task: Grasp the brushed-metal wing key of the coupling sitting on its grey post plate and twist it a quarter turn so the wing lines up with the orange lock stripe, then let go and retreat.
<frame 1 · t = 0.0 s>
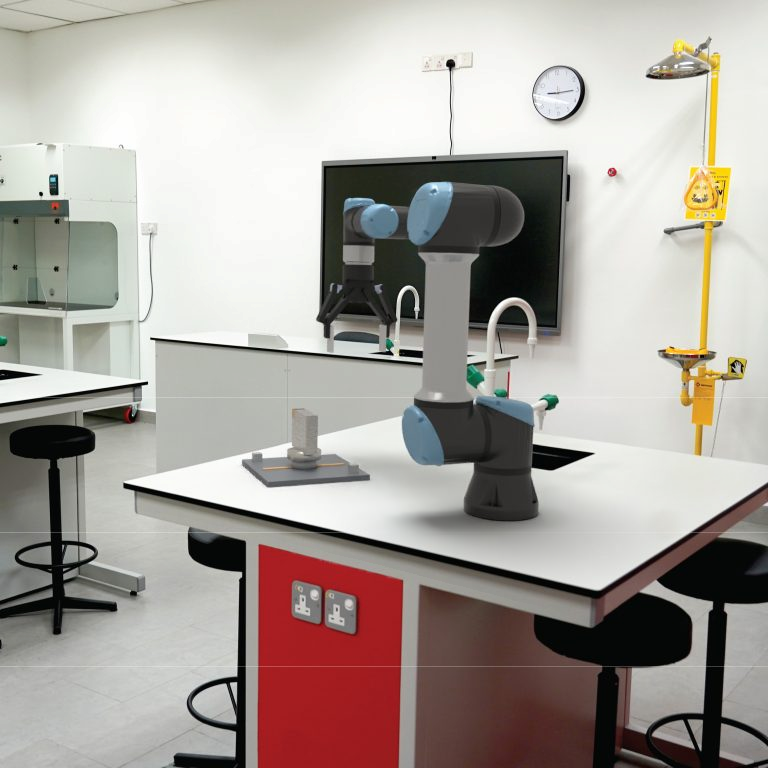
hand: (356, 351, 221), 28 cm above the table, fingers open, 13 cm apart
post plate: (304, 471, 214), on the table
coupling: (304, 435, 213), point 9 cm above the table, hinge at 0.0°
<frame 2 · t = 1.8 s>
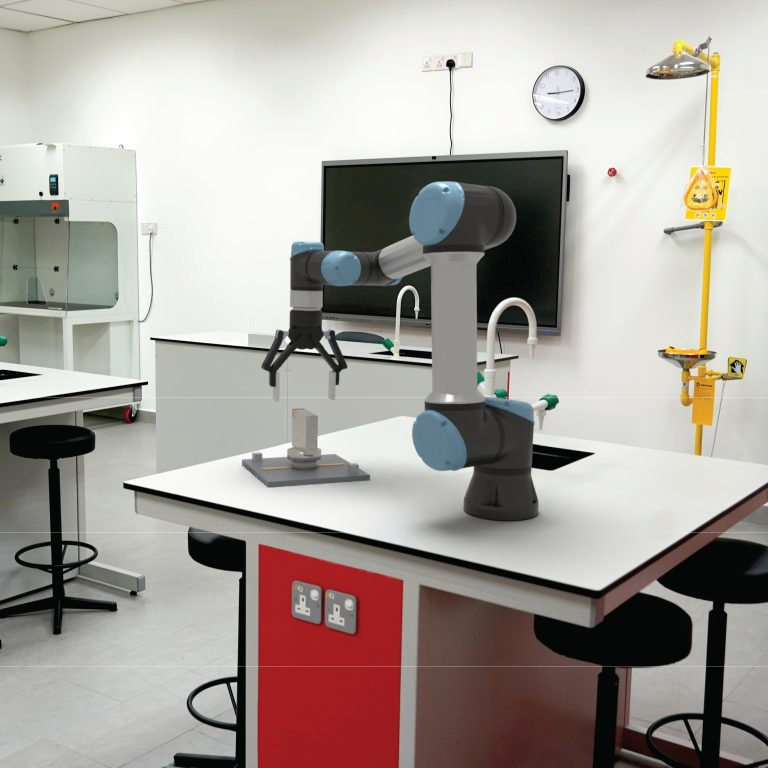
hand: (304, 400, 212), 17 cm above the table, fingers open, 13 cm apart
nothing on the table moved.
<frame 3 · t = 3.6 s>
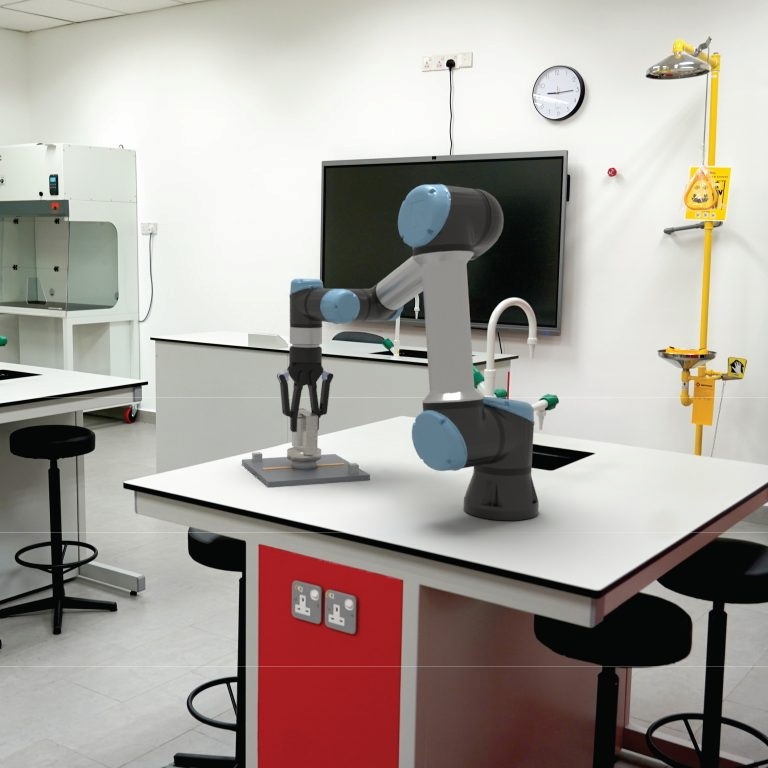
hand: (304, 444, 213), 7 cm above the table, fingers closed on coupling, 3 cm apart
coupling: (304, 435, 213), point 9 cm above the table, hinge at 0.0°, touching gripper
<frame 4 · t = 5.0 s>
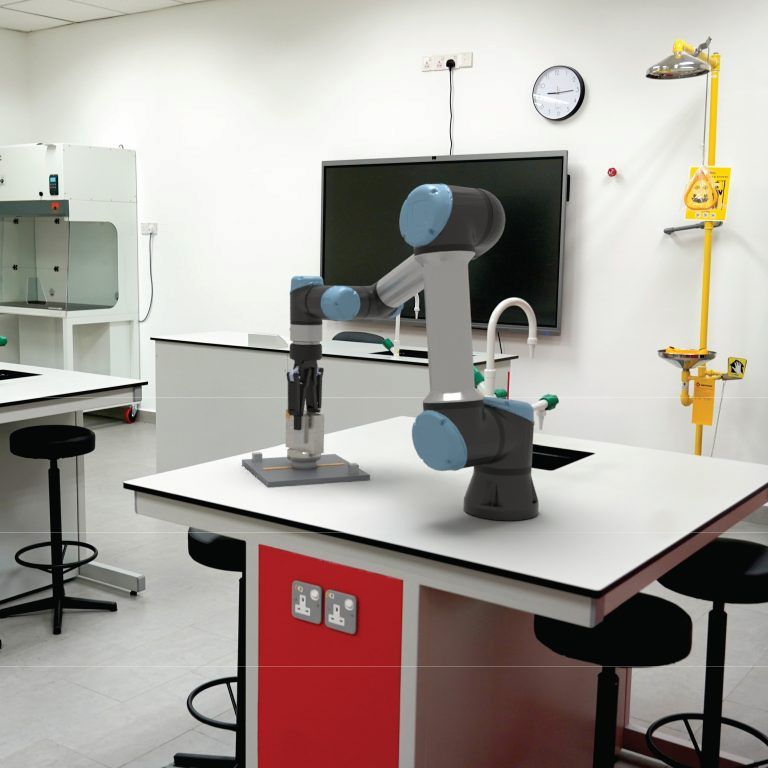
hand: (304, 441, 213), 7 cm above the table, fingers closed on coupling, 4 cm apart
coupling: (304, 435, 213), point 9 cm above the table, hinge at 20.3°, touching gripper
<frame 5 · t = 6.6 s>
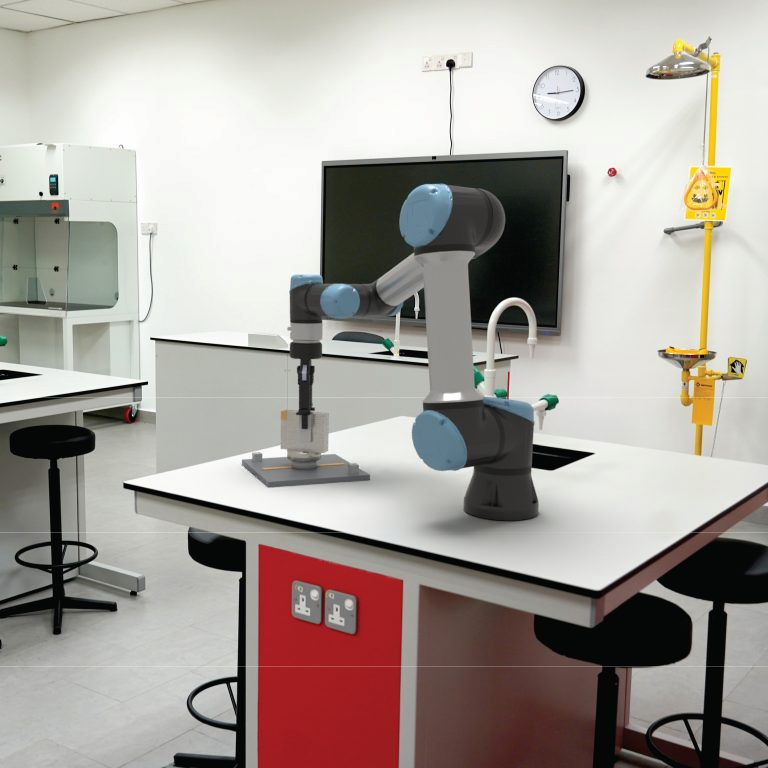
hand: (305, 440, 213), 8 cm above the table, fingers closed on coupling, 4 cm apart
coupling: (304, 435, 213), point 9 cm above the table, hinge at 48.6°, touching gripper
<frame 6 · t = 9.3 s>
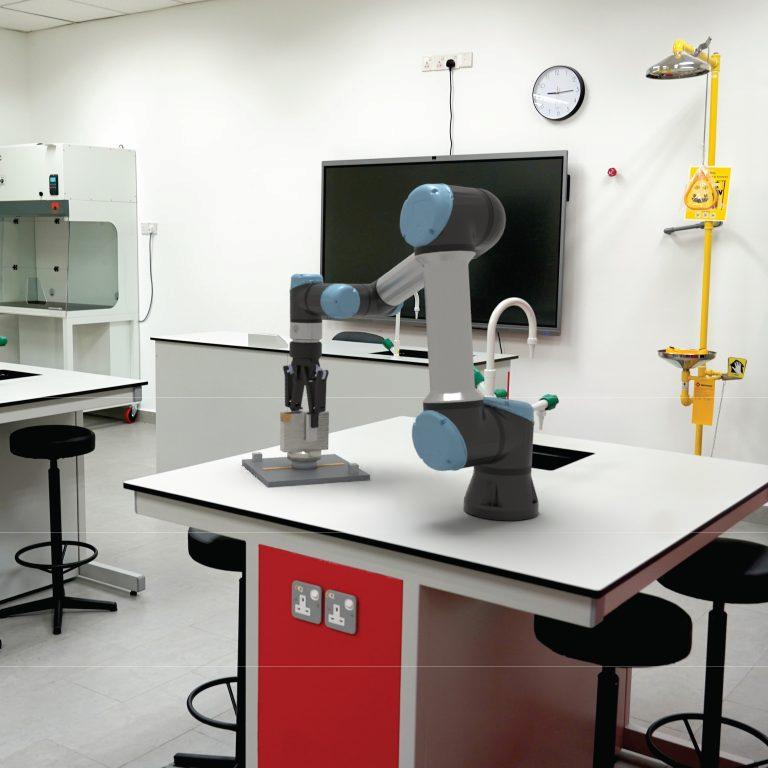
hand: (304, 439, 213), 8 cm above the table, fingers closed on coupling, 4 cm apart
coupling: (304, 435, 213), point 9 cm above the table, hinge at 91.8°, touching gripper
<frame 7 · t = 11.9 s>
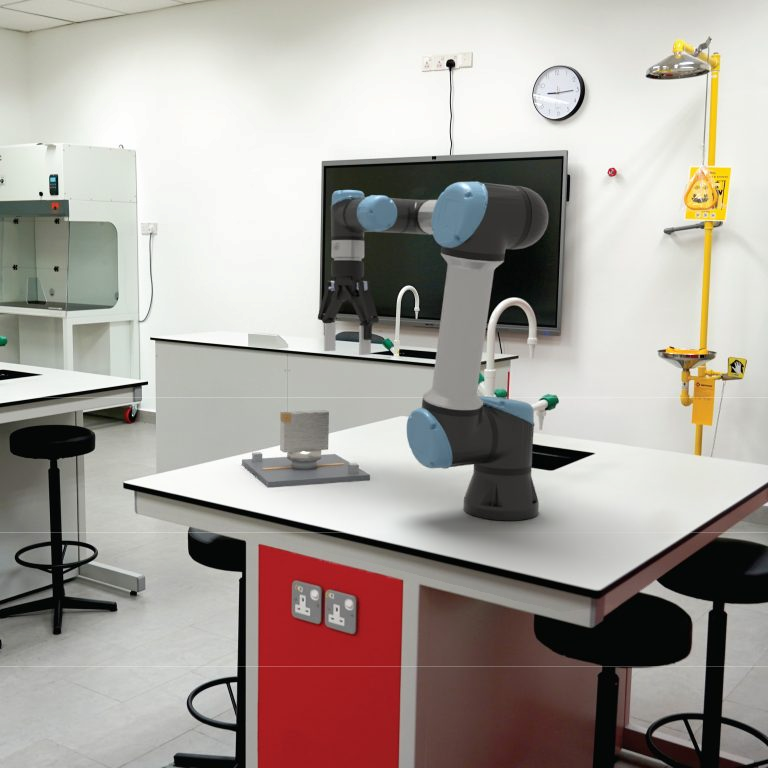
hand: (346, 352, 209), 29 cm above the table, fingers open, 13 cm apart
coupling: (304, 435, 213), point 9 cm above the table, hinge at 92.4°
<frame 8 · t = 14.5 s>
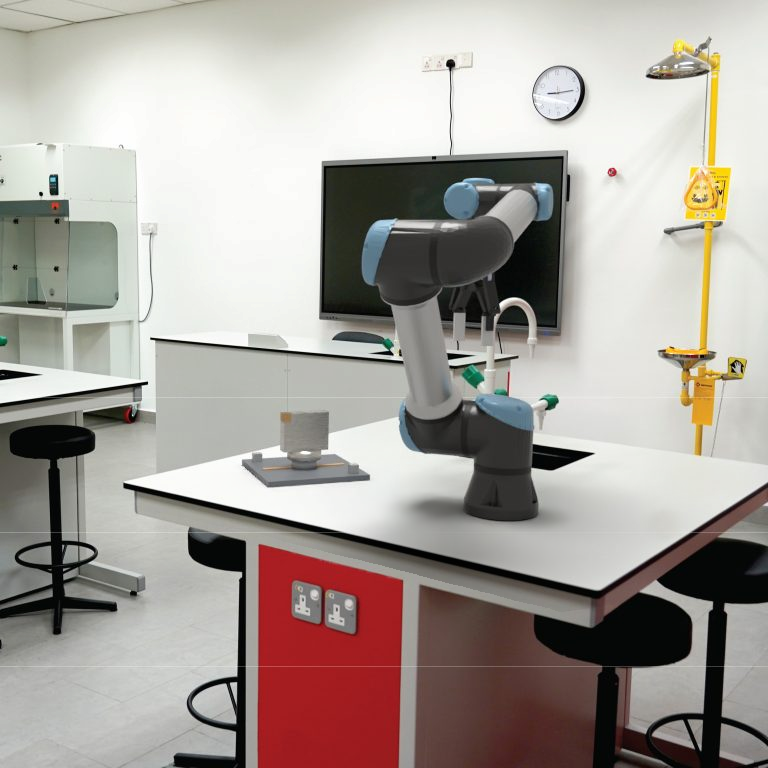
hand: (472, 343, 206), 32 cm above the table, fingers open, 13 cm apart
nothing on the table moved.
at the end: coupling at +92° (first picture: +0°); the gripper is holding nothing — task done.
